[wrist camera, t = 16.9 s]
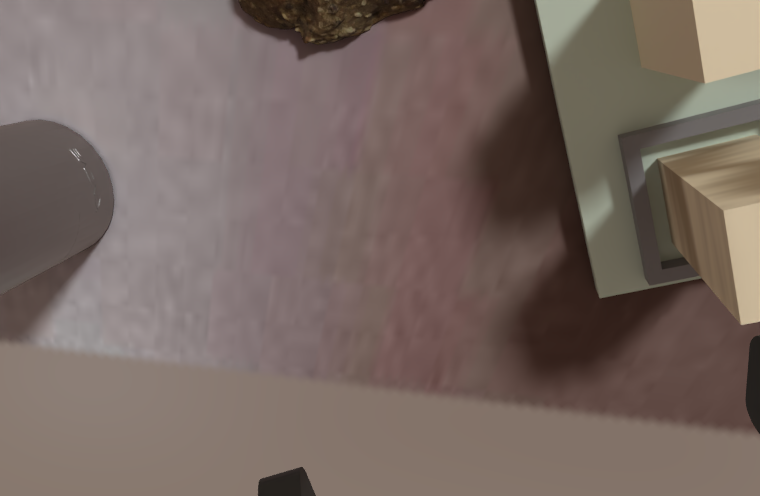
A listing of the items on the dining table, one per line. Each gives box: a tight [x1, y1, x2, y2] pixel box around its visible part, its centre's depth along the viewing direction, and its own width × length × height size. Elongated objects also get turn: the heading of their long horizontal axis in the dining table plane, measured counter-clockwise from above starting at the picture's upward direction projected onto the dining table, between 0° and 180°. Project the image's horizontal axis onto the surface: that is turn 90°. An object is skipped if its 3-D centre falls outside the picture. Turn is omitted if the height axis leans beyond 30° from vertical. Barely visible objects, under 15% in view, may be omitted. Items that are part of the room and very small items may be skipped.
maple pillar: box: [657, 134, 760, 325], centre depth 31 cm, size 5×5×11 cm
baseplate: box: [534, 0, 760, 298], centre depth 30 cm, size 14×20×12 cm
